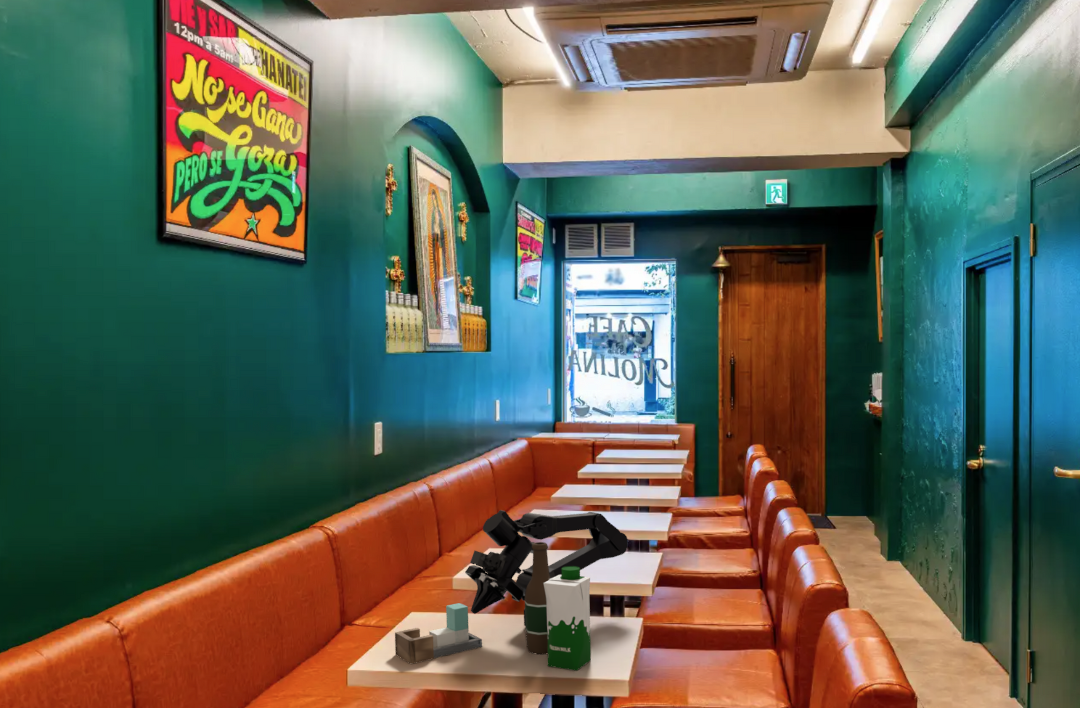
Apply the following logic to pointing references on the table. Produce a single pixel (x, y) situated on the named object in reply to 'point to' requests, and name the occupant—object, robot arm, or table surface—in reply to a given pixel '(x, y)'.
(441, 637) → the teal block
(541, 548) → the beer bottle
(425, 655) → the socket
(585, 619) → the milk carton
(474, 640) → the rails
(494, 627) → the table surface
